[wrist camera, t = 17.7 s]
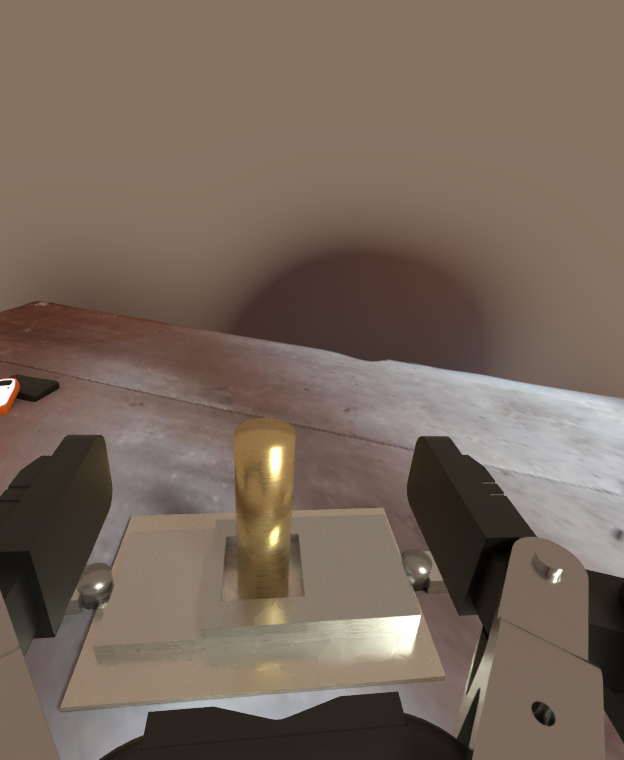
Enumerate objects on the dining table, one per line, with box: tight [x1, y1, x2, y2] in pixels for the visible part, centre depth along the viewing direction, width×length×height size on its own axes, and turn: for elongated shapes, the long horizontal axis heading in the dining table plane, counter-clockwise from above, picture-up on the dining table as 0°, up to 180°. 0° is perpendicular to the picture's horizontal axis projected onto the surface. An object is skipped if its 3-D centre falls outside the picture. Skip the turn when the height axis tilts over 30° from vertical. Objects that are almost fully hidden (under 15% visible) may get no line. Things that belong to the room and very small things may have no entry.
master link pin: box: [234, 418, 295, 600], centre depth 31 cm, size 4×4×14 cm
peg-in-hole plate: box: [60, 508, 448, 712], centre depth 34 cm, size 36×16×2 cm, turn 96°
